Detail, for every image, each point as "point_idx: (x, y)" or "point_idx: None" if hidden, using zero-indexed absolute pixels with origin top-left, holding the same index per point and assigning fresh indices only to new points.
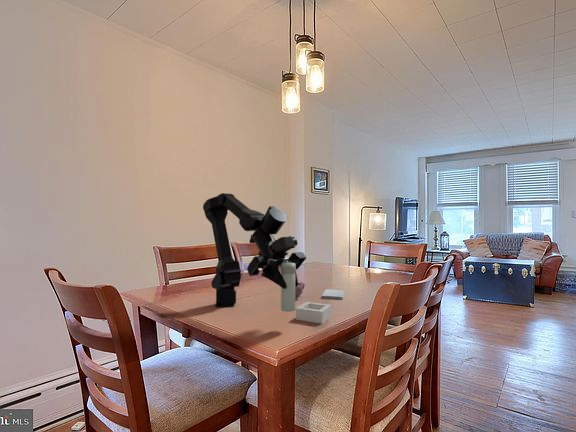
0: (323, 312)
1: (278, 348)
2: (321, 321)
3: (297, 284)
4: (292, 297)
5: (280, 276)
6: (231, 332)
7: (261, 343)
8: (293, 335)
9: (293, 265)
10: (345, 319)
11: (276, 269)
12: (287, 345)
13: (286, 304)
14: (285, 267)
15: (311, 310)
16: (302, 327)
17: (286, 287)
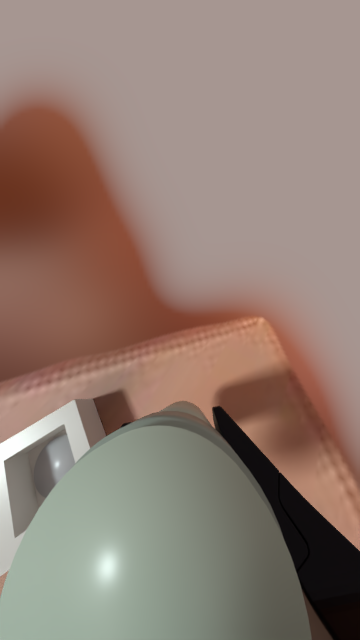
0: (68, 404)
1: (256, 327)
2: (90, 400)
3: (130, 422)
4: (178, 403)
5: (262, 473)
6: (342, 485)
7: (279, 365)
8: (198, 368)
9: (136, 428)
10: (23, 394)
11: (352, 588)
12: (234, 330)
13: (201, 411)
14: (248, 471)
15: (86, 434)
16: (149, 403)
17: (214, 408)
